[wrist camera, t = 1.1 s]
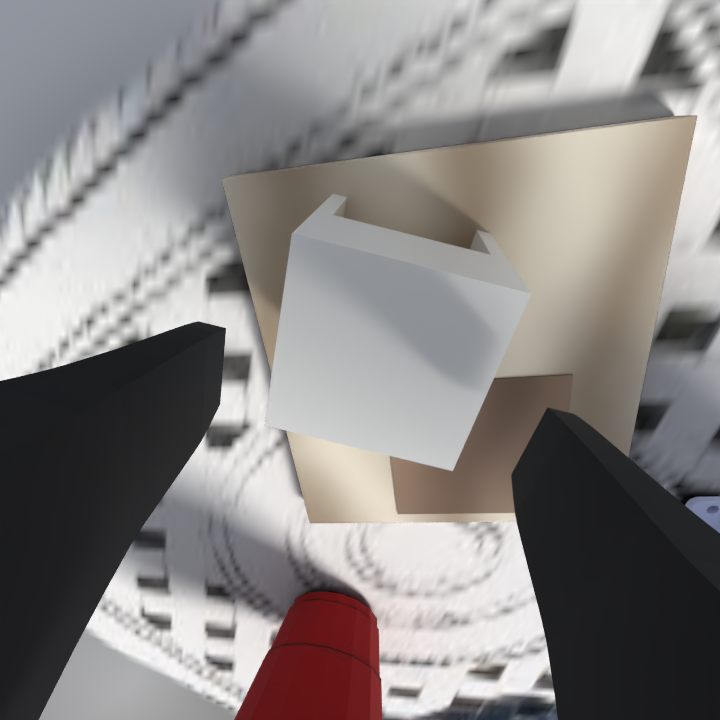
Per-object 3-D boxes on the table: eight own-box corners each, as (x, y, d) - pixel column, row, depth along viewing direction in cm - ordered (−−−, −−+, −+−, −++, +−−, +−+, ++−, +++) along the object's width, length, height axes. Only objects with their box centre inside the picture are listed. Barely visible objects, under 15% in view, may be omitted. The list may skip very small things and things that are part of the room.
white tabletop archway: (490, 233, 15) (531, 293, 10) (440, 368, 18) (452, 471, 13) (333, 193, 15) (292, 233, 10) (307, 335, 18) (264, 425, 13)
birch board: (675, 115, 14) (699, 115, 13) (605, 501, 22) (616, 522, 21) (233, 175, 16) (220, 179, 15) (314, 505, 24) (309, 524, 23)
